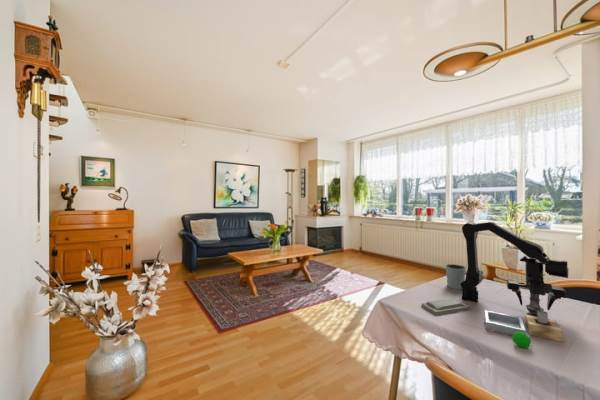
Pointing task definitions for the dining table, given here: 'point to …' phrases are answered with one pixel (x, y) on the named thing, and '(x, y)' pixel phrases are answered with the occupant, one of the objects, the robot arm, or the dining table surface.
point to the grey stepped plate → (445, 306)
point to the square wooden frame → (543, 328)
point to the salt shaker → (534, 305)
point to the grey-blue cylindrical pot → (455, 275)
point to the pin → (542, 317)
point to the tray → (503, 323)
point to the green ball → (521, 339)
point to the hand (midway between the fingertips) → (534, 307)
